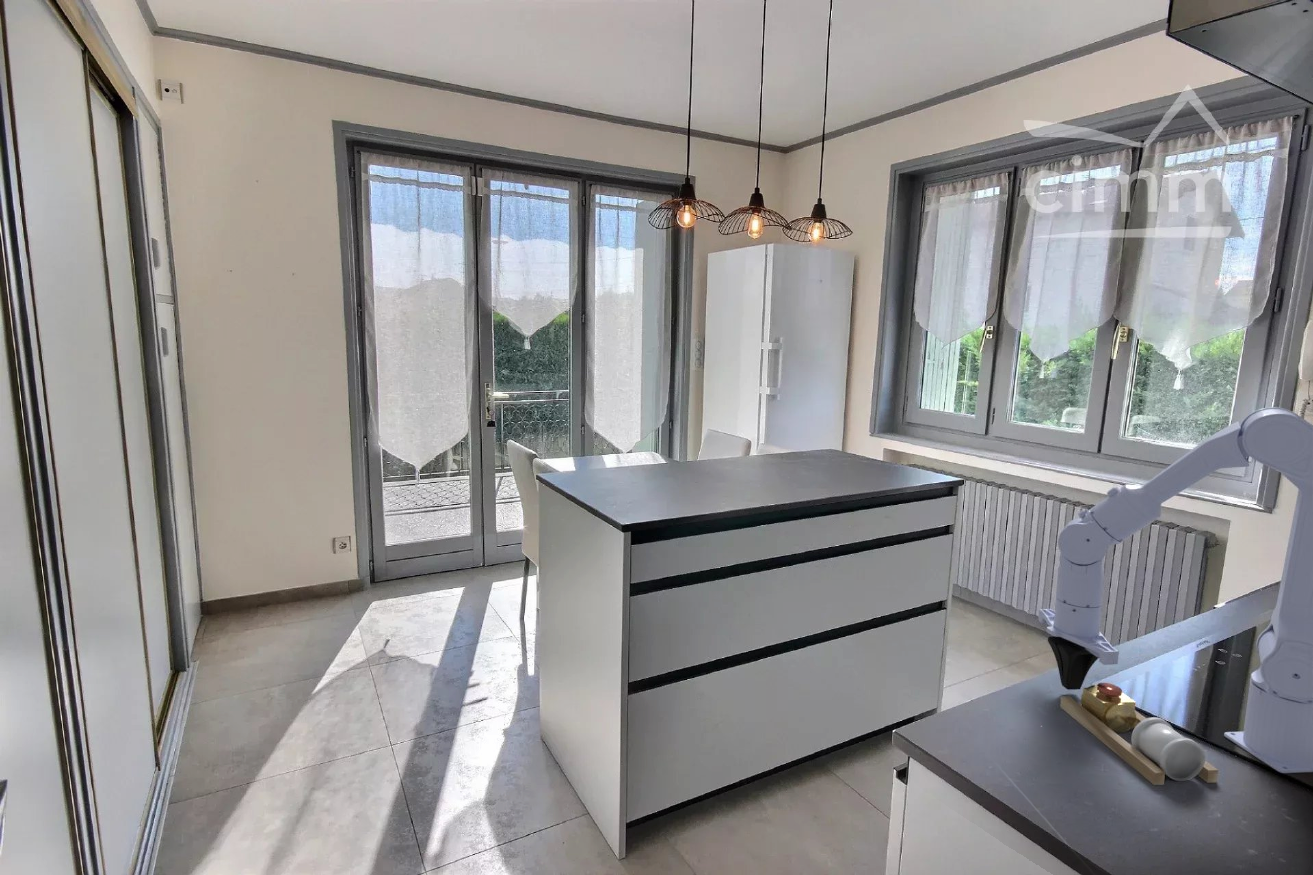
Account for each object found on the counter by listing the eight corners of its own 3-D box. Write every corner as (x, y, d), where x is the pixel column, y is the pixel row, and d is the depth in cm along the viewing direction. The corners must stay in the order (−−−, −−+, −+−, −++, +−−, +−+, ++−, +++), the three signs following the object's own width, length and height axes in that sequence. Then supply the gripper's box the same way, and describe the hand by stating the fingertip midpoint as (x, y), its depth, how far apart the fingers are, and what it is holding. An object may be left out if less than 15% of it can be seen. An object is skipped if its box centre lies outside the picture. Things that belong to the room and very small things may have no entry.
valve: (1078, 711, 94) (1081, 678, 93) (1108, 710, 94) (1111, 677, 94) (1104, 733, 89) (1107, 698, 88) (1136, 731, 89) (1139, 697, 89)
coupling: (1129, 755, 84) (1133, 717, 83) (1168, 754, 84) (1172, 716, 84) (1161, 781, 79) (1165, 741, 78) (1202, 779, 80) (1207, 739, 79)
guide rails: (1112, 704, 96) (1113, 694, 96) (1216, 782, 79) (1218, 769, 79) (1060, 706, 95) (1061, 696, 95) (1154, 785, 79) (1155, 772, 78)
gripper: (1022, 583, 104) (1016, 664, 106) (1086, 621, 90) (1078, 715, 92) (1065, 581, 104) (1059, 662, 106) (1136, 620, 90) (1127, 713, 92)
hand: (1071, 687), depth 99 cm, fingers closed
